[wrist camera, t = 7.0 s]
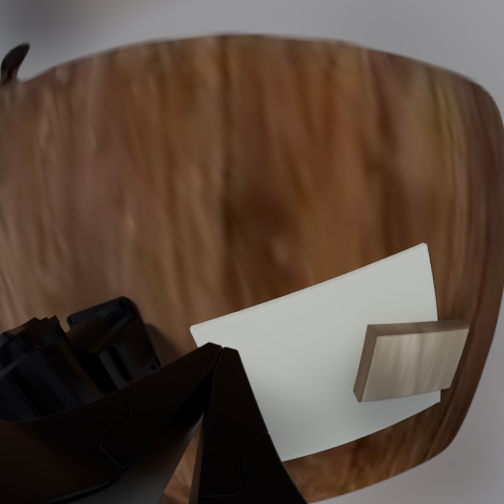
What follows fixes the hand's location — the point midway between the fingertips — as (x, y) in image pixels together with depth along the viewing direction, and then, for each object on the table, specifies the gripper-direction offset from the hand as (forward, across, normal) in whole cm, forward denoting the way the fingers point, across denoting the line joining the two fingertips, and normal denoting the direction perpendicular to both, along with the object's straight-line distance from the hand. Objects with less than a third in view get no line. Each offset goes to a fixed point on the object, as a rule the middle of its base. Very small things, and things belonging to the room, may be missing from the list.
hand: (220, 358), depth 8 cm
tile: (+11, -10, +6) cm, 16 cm away
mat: (+12, -8, +8) cm, 17 cm away
